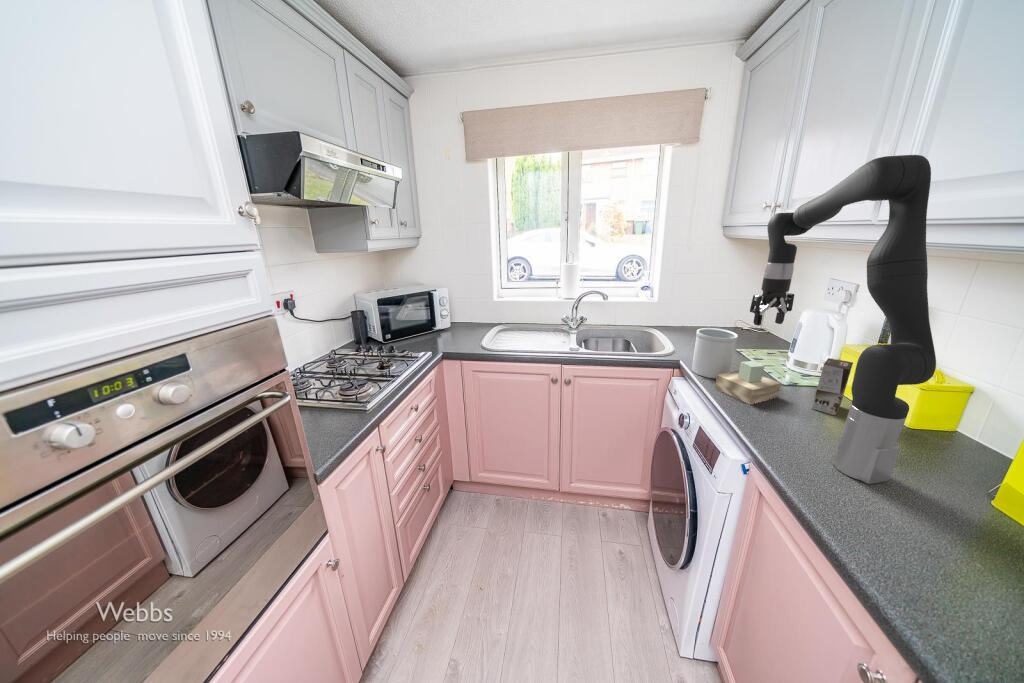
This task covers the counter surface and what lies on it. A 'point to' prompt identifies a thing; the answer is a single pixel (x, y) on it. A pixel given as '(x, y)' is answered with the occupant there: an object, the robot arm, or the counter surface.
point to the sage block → (751, 371)
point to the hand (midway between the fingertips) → (767, 324)
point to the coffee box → (832, 385)
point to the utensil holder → (713, 352)
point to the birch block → (747, 388)
